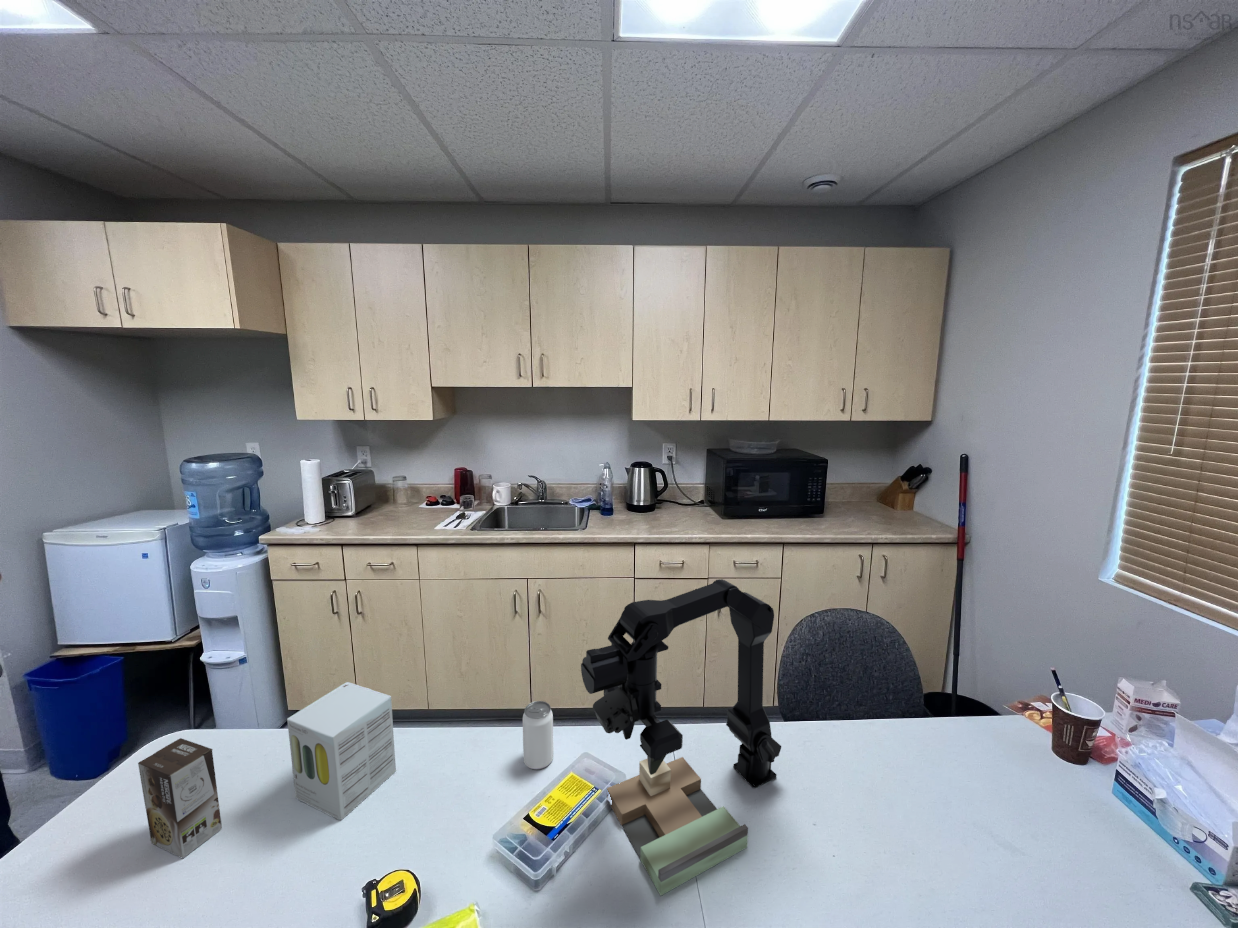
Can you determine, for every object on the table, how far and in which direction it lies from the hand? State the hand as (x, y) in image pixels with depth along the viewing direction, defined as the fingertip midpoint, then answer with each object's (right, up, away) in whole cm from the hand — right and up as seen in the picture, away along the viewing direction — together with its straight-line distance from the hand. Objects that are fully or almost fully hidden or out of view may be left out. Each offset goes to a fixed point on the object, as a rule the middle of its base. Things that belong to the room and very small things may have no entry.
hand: (639, 754), depth 84 cm
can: (-21, -12, +18) cm, 30 cm away
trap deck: (+6, -14, +3) cm, 16 cm away
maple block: (+3, -11, +9) cm, 14 cm away
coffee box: (-82, -14, 0) cm, 83 cm away
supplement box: (-59, -13, +11) cm, 62 cm away
